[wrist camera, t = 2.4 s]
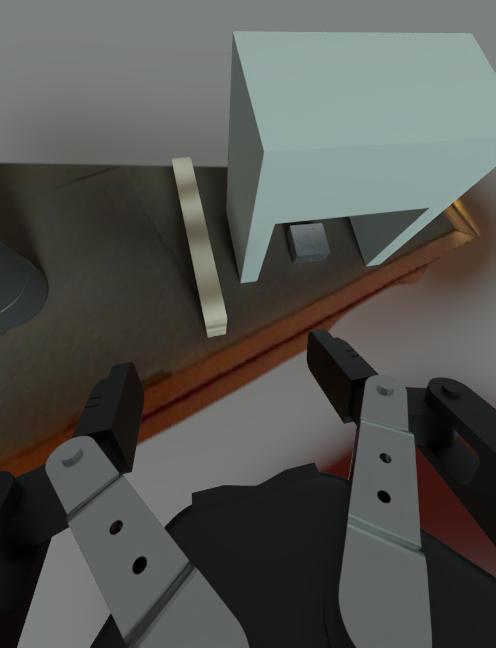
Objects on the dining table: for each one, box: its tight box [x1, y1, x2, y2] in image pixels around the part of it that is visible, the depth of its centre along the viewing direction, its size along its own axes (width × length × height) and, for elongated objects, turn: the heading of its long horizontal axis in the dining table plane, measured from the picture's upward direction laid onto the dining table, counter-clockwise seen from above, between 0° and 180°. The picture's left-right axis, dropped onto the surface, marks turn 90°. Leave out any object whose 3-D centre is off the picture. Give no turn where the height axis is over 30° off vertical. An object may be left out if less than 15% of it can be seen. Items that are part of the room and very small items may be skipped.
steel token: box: [287, 223, 330, 263], centre depth 40 cm, size 5×5×2 cm
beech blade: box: [172, 157, 227, 337], centre depth 35 cm, size 22×2×8 cm, turn 13°
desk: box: [226, 31, 496, 283], centre depth 31 cm, size 13×22×21 cm, turn 101°
